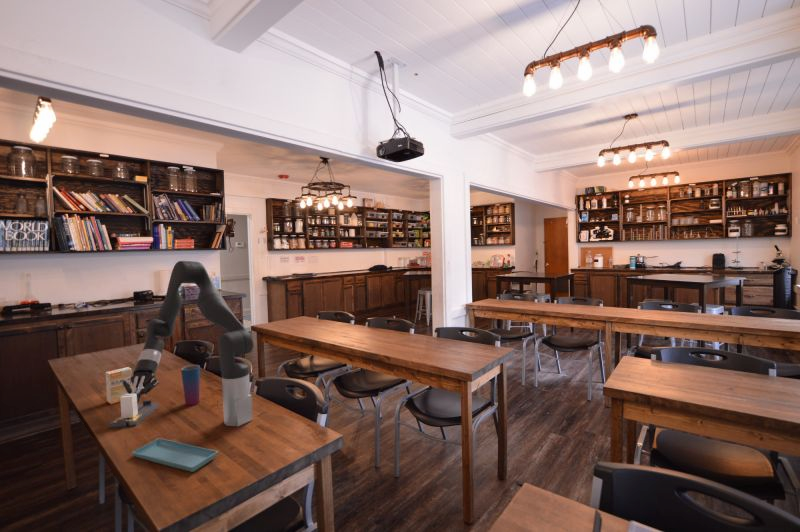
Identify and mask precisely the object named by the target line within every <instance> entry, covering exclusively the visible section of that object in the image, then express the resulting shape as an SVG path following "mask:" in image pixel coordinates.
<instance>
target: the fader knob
mask: <svg viewBox="0 0 800 532" xmlns="http://www.w3.org/2000/svg"><path fill="white" fill-rule="evenodd" d="M120 412H121V414H120V415H122V418H134V417H135V416H136V415H137V414H138V407H137V393H135V394H125V395H123V396H122V397H120Z"/></svg>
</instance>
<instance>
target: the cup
mask: <svg viewBox="0 0 800 532" xmlns="http://www.w3.org/2000/svg"><path fill="white" fill-rule="evenodd" d="M180 371H181V378H182V379H181V380H182V387H183V393H184V394H183V395H184V403H185V405H186V406H187V405H192V406H195V404H196V405H197V403H198V404H199V403H200V396H201V395H200V391H201V390H200V387H201V386H200V385H201V380H200V379H201V365H199V364H191V365H190V364H189V365H185V366H183V367H182V368H181V369H180Z"/></svg>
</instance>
